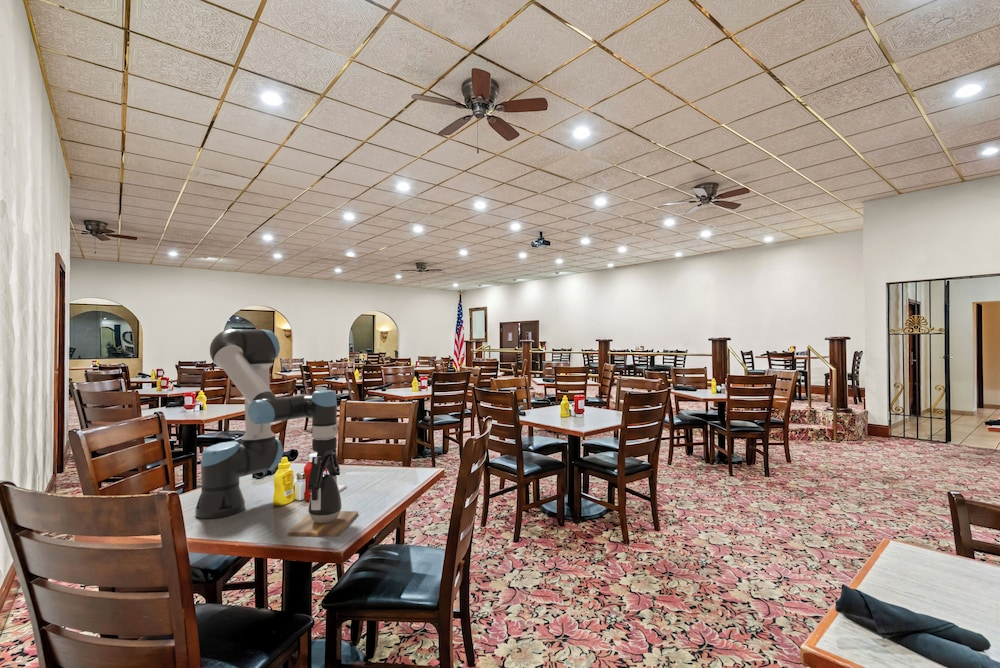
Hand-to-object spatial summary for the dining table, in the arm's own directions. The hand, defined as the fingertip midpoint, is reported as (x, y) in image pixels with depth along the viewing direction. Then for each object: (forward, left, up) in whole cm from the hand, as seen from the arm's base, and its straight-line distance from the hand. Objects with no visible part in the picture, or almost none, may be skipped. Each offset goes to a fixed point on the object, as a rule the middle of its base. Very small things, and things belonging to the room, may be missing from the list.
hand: (324, 502), depth 156 cm
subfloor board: (0, 0, -7) cm, 7 cm away
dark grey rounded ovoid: (0, 0, -6) cm, 6 cm away
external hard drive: (-11, +32, -8) cm, 35 cm away
